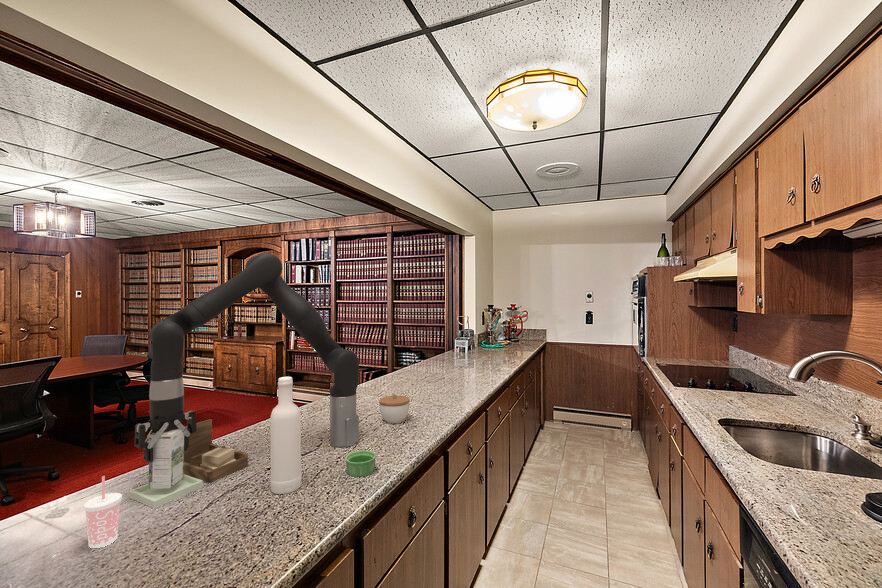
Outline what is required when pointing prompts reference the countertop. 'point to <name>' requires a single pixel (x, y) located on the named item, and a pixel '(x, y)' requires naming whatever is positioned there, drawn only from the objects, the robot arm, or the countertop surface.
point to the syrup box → (167, 460)
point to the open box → (203, 444)
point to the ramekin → (360, 463)
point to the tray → (165, 492)
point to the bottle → (285, 441)
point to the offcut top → (217, 457)
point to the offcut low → (213, 467)
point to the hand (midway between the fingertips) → (167, 455)
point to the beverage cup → (102, 518)
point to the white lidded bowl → (394, 408)
